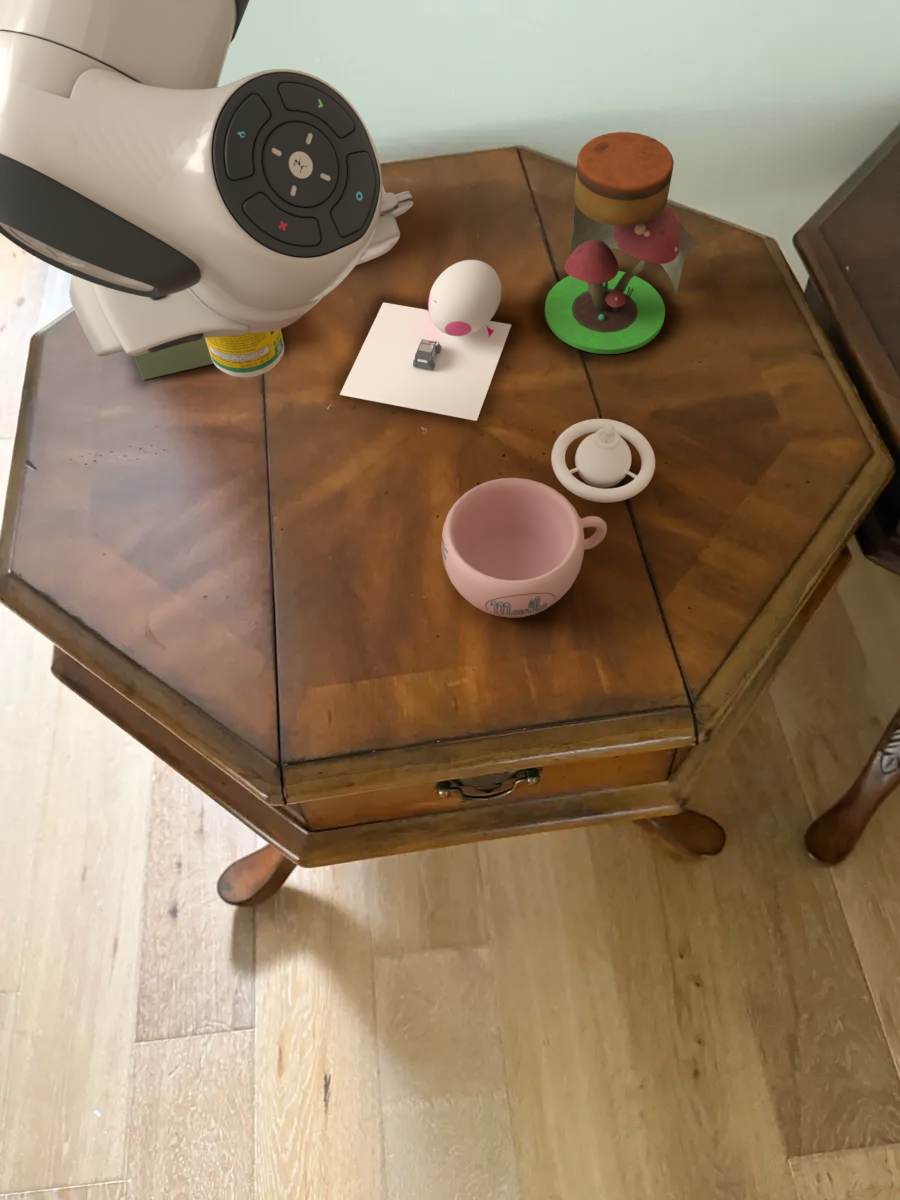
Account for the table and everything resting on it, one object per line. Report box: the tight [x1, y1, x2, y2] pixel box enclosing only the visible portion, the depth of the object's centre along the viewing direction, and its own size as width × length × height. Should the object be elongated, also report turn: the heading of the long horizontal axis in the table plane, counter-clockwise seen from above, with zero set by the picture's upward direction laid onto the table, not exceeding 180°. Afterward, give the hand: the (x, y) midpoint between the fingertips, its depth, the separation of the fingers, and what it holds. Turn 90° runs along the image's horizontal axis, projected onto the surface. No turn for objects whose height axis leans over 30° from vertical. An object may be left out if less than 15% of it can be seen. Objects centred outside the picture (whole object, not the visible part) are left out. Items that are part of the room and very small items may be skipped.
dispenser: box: [133, 338, 215, 381], centre depth 84 cm, size 12×9×5 cm
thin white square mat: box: [339, 302, 512, 422], centre depth 83 cm, size 12×12×2 cm
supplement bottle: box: [205, 328, 285, 379], centre depth 66 cm, size 5×5×10 cm
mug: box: [440, 477, 608, 619], centre depth 69 cm, size 12×10×6 cm
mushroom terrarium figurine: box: [544, 131, 702, 355], centre depth 80 cm, size 12×13×15 cm
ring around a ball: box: [550, 418, 656, 504], centre depth 74 cm, size 8×6×8 cm
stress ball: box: [424, 259, 502, 337], centre depth 84 cm, size 8×8×7 cm
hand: (229, 289), depth 66 cm, fingers closed on supplement bottle, 5 cm apart
